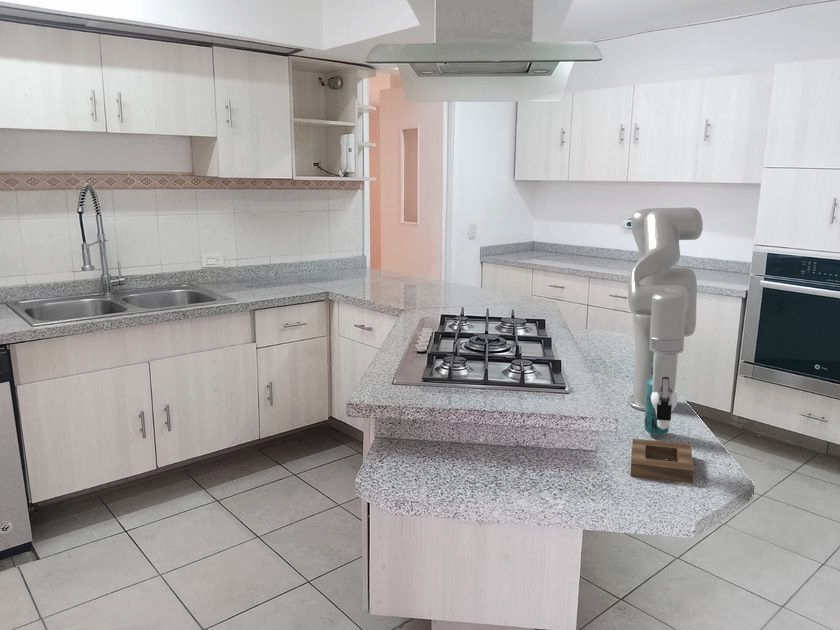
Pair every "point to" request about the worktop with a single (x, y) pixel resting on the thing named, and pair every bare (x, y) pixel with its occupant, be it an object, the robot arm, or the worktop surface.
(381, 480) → the worktop surface
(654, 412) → the beverage bottle
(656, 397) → the lightbulb
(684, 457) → the socket block
